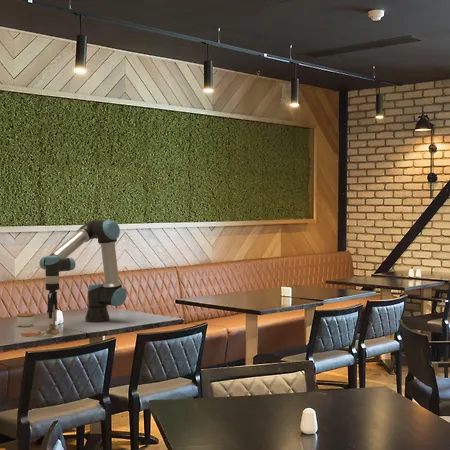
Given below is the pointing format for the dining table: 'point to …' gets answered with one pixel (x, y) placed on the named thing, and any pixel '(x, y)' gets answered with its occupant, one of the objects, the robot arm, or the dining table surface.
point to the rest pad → (52, 335)
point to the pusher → (52, 326)
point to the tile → (31, 333)
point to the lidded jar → (25, 319)
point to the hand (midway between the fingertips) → (52, 322)
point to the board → (35, 336)
